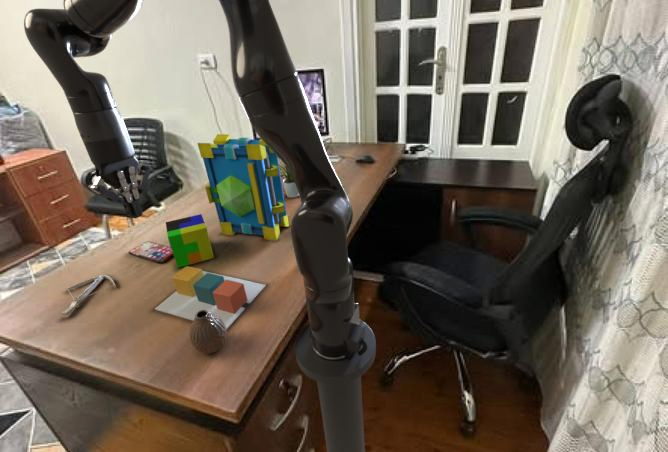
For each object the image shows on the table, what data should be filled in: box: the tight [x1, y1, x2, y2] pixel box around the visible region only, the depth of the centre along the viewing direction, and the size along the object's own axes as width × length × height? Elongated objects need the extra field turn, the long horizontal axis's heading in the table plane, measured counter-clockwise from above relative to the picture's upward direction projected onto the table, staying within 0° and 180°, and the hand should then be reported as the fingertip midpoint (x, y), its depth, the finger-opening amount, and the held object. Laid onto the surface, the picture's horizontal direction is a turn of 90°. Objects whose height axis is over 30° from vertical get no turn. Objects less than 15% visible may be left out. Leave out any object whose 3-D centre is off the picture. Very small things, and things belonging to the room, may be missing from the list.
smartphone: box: [128, 241, 174, 264], centre depth 106 cm, size 7×1×15 cm
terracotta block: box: [212, 280, 247, 314], centre depth 81 cm, size 5×5×5 cm
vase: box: [189, 310, 228, 355], centre depth 70 cm, size 7×7×9 cm
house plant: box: [278, 160, 300, 199], centre depth 134 cm, size 14×14×16 cm
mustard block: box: [171, 265, 204, 297], centre depth 87 cm, size 5×5×5 cm
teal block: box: [193, 272, 225, 305], centre depth 84 cm, size 5×5×5 cm
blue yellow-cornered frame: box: [197, 133, 290, 242], centre depth 107 cm, size 14×23×30 cm, turn 70°
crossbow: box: [61, 274, 117, 318], centre depth 90 cm, size 16×13×2 cm
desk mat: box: [154, 270, 267, 331], centre depth 86 cm, size 21×16×1 cm
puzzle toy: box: [165, 213, 215, 269], centre depth 101 cm, size 10×10×10 cm
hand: (136, 216), depth 74 cm, fingers closed
